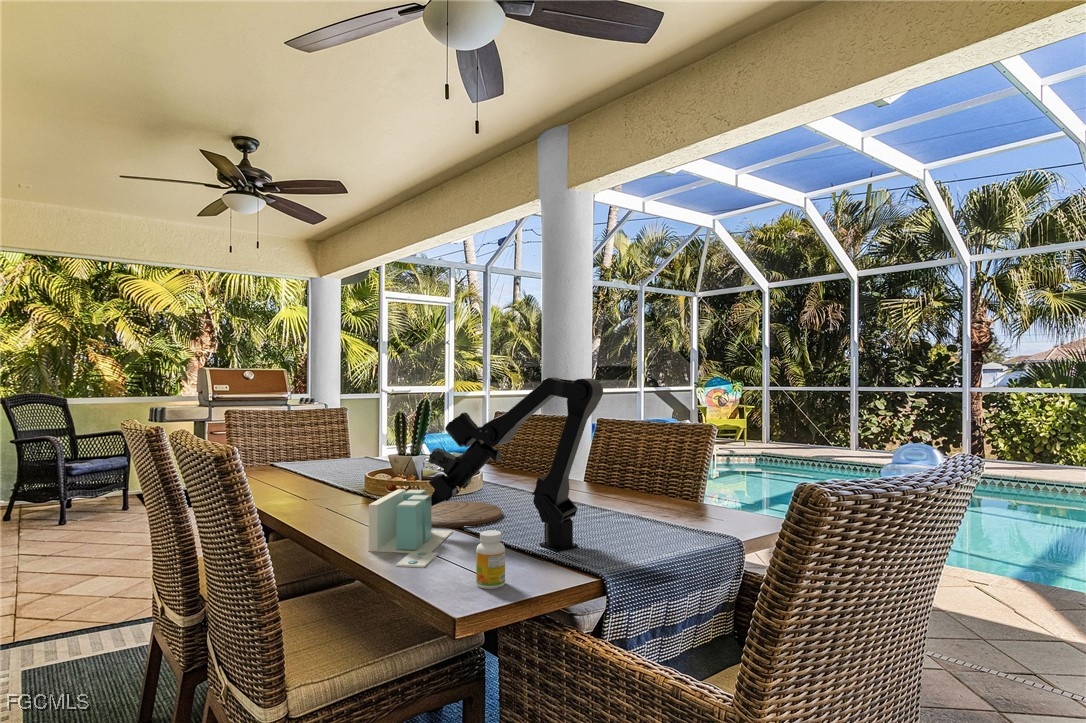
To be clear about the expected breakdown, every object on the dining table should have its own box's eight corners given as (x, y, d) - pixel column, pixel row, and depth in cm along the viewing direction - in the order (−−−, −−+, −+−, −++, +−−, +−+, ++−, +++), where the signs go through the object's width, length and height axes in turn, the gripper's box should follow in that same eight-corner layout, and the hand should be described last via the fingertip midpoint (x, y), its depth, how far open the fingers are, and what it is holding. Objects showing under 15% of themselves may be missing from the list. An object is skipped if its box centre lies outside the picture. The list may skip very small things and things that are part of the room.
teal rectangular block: (426, 529, 159) (426, 489, 159) (421, 534, 154) (421, 493, 154) (409, 528, 159) (409, 489, 159) (403, 533, 155) (403, 492, 155)
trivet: (518, 513, 180) (518, 506, 180) (467, 534, 158) (467, 526, 158) (446, 504, 192) (446, 498, 192) (389, 522, 170) (389, 515, 170)
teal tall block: (422, 544, 145) (422, 501, 145) (416, 549, 141) (416, 505, 141) (403, 543, 146) (403, 500, 146) (396, 549, 141) (396, 504, 142)
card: (437, 554, 139) (437, 552, 139) (424, 567, 130) (424, 564, 130) (411, 553, 140) (411, 551, 140) (396, 566, 131) (396, 563, 131)
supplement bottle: (473, 581, 122) (473, 530, 122) (500, 578, 124) (500, 528, 124) (480, 591, 117) (480, 537, 117) (508, 587, 119) (508, 535, 119)
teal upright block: (431, 536, 152) (431, 495, 152) (425, 541, 147) (425, 499, 147) (413, 536, 152) (413, 494, 152) (406, 541, 148) (406, 498, 148)
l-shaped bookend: (452, 532, 158) (452, 490, 158) (429, 553, 140) (429, 506, 140) (398, 530, 160) (398, 489, 160) (368, 551, 142) (368, 504, 142)
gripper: (459, 433, 165) (418, 475, 166) (437, 441, 147) (391, 488, 148) (489, 464, 164) (447, 506, 165) (471, 476, 145) (424, 523, 147)
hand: (428, 505), depth 156 cm, fingers closed
